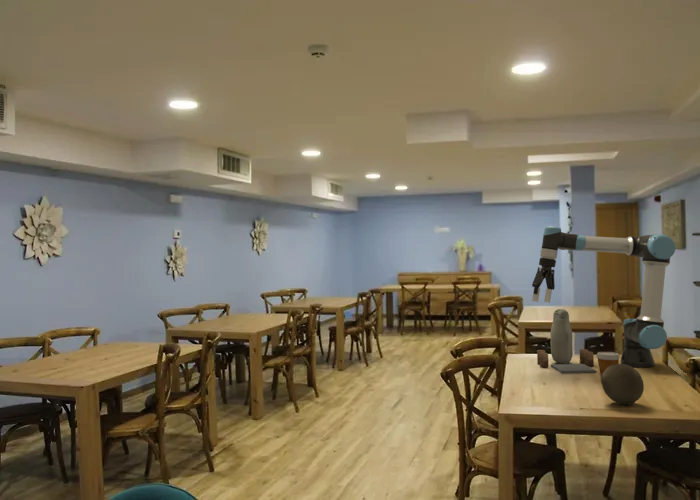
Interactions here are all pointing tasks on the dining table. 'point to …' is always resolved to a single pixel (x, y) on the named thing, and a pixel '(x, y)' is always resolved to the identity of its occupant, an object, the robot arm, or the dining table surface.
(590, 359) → the cylinder
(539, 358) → the cylinder
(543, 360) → the cylinder
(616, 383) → the coconut
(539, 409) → the dining table surface
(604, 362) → the disposable coffee cup
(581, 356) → the cylinder
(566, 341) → the grey ceramic vase
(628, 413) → the dining table surface
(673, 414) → the dining table surface
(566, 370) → the mat
